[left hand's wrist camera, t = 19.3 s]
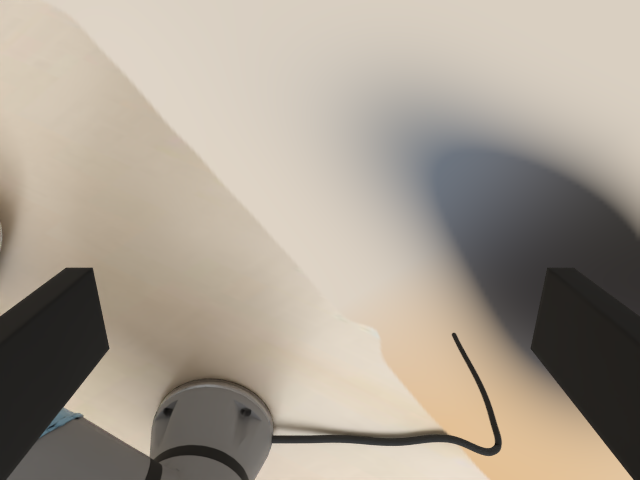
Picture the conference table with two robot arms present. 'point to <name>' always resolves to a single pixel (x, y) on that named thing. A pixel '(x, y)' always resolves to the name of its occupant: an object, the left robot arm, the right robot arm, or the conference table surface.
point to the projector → (0, 236)
